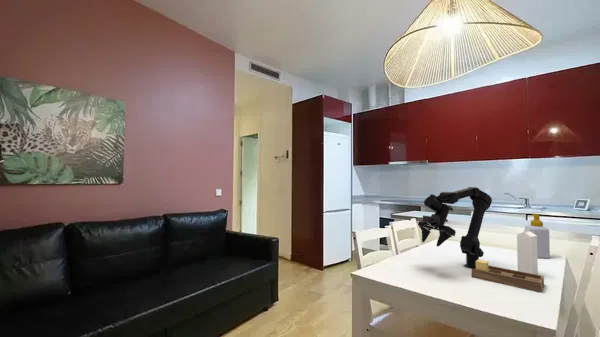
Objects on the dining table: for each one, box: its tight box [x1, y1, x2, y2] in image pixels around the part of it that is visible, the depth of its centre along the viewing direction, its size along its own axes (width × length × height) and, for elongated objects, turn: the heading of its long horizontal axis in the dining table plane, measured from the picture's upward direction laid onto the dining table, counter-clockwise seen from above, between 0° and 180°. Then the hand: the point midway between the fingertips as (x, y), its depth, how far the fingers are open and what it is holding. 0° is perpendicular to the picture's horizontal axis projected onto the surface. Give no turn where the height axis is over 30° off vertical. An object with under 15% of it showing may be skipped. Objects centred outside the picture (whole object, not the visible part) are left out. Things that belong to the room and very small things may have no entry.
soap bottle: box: [524, 213, 551, 259], centre depth 168 cm, size 9×9×25 cm
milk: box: [516, 228, 539, 275], centre depth 138 cm, size 6×6×22 cm
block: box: [476, 259, 489, 272], centre depth 133 cm, size 4×4×5 cm
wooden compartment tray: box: [471, 264, 545, 293], centre depth 128 cm, size 12×25×4 cm, turn 45°
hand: (429, 244), depth 138 cm, fingers open, 9 cm apart
